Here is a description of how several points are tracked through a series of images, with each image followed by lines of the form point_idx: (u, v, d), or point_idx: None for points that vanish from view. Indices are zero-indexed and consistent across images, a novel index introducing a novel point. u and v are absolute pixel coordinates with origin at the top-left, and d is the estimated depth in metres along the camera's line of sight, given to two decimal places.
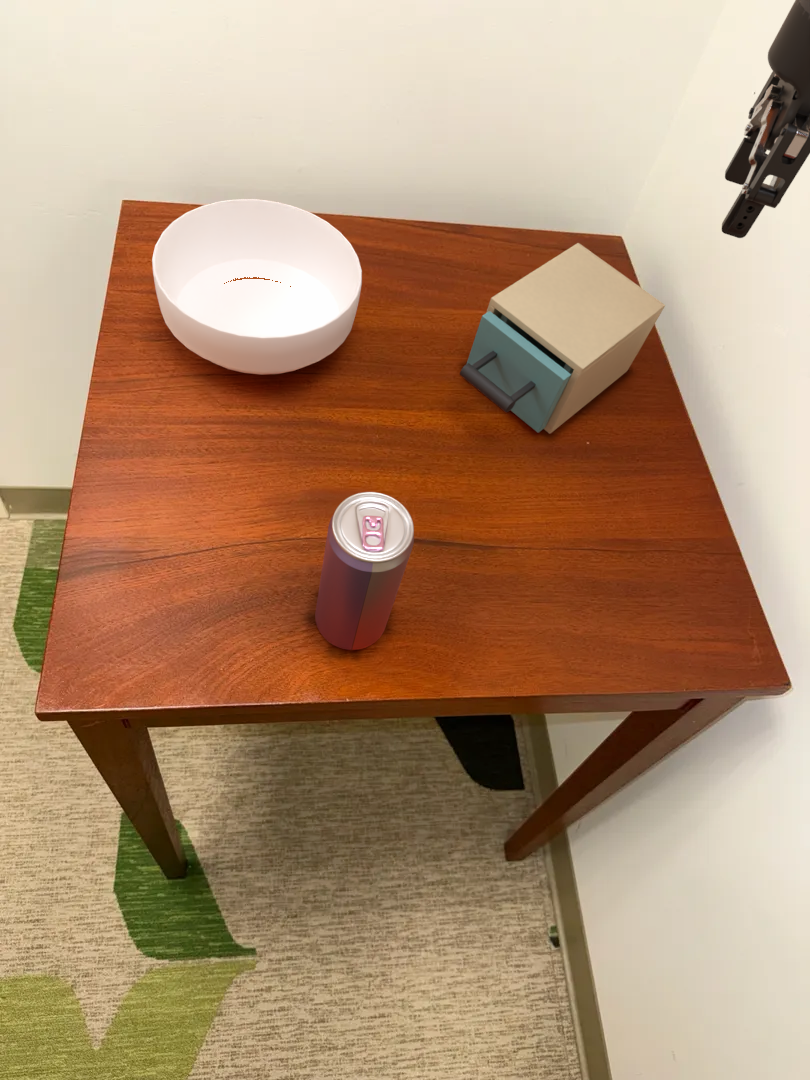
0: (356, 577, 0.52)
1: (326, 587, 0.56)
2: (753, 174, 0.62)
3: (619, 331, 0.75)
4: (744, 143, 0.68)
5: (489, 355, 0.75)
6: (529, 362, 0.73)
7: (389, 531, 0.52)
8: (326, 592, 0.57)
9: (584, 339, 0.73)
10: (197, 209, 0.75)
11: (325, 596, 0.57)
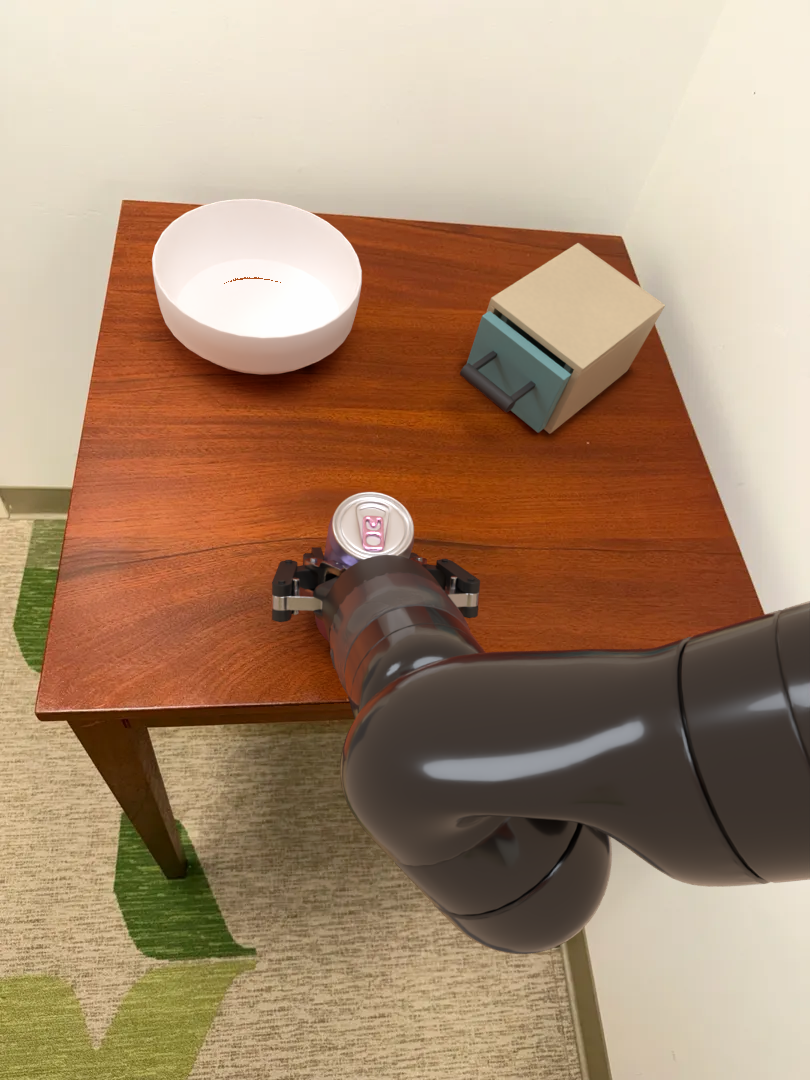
0: None
1: None
2: None
3: (619, 331, 0.75)
4: None
5: (489, 355, 0.75)
6: (529, 362, 0.73)
7: (389, 531, 0.52)
8: None
9: (584, 339, 0.73)
10: (197, 209, 0.75)
11: None
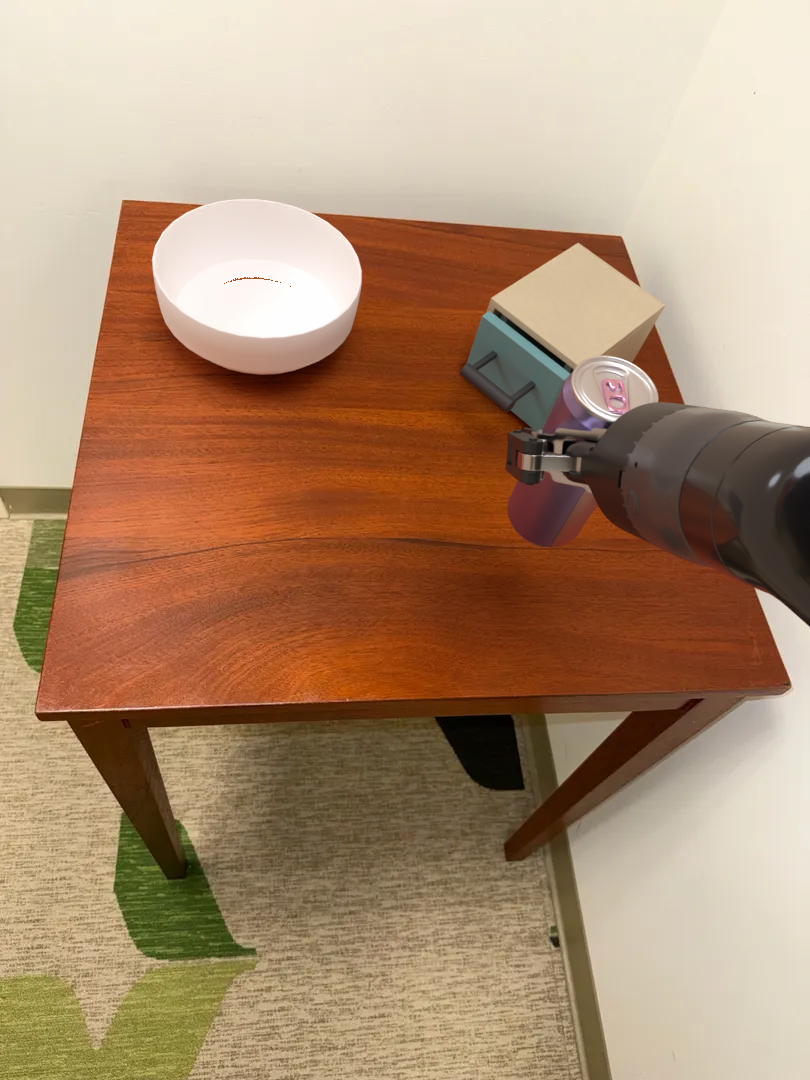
0: None
1: None
2: None
3: (619, 331, 0.75)
4: None
5: (489, 355, 0.75)
6: (529, 362, 0.73)
7: (632, 394, 0.47)
8: None
9: (584, 339, 0.73)
10: (197, 209, 0.75)
11: None
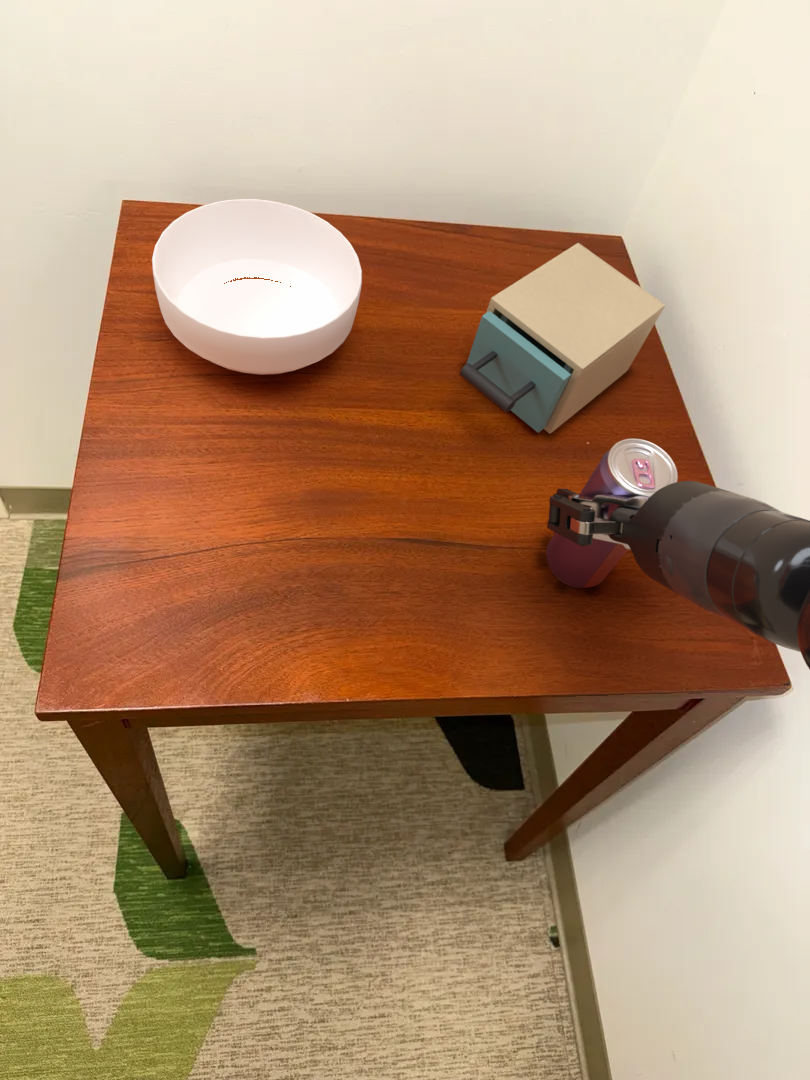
0: None
1: None
2: None
3: (619, 331, 0.75)
4: None
5: (489, 355, 0.75)
6: (529, 362, 0.73)
7: (656, 472, 0.59)
8: None
9: (584, 339, 0.73)
10: (197, 209, 0.75)
11: None
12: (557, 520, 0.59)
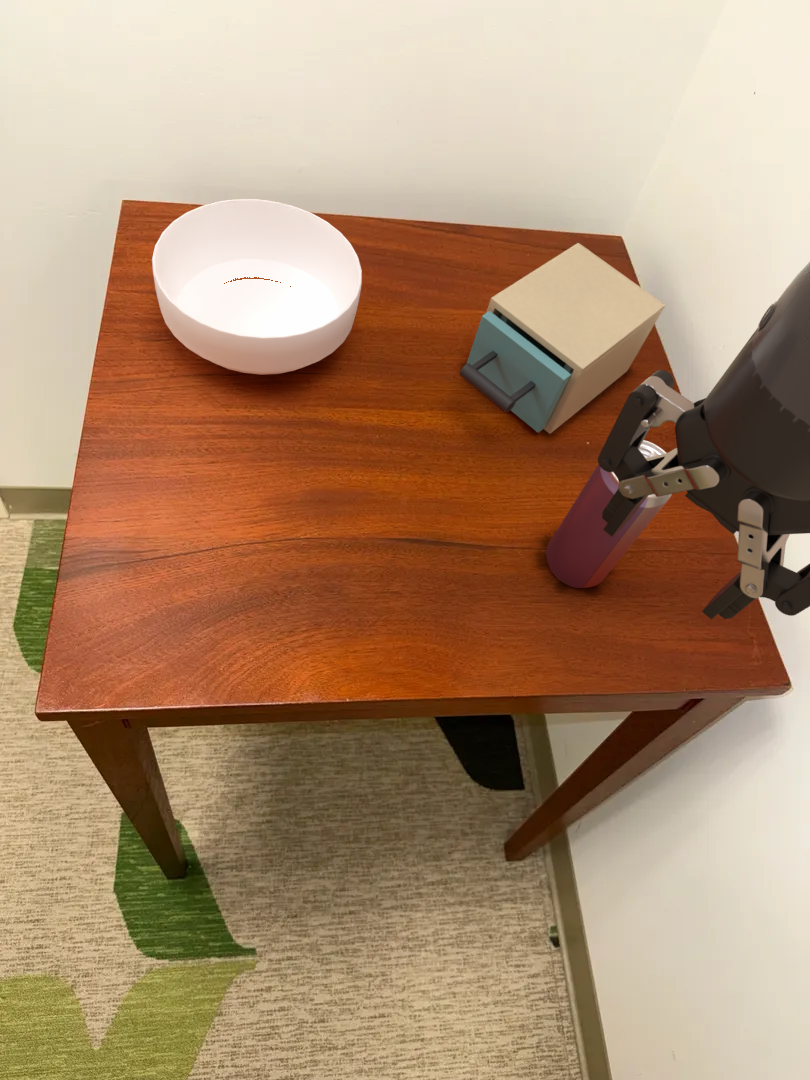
0: None
1: (582, 526, 0.63)
2: (764, 579, 0.39)
3: (619, 331, 0.75)
4: (635, 506, 0.43)
5: (489, 355, 0.75)
6: (529, 362, 0.73)
7: None
8: (580, 531, 0.63)
9: (584, 339, 0.73)
10: (197, 209, 0.75)
11: (577, 535, 0.64)
12: None
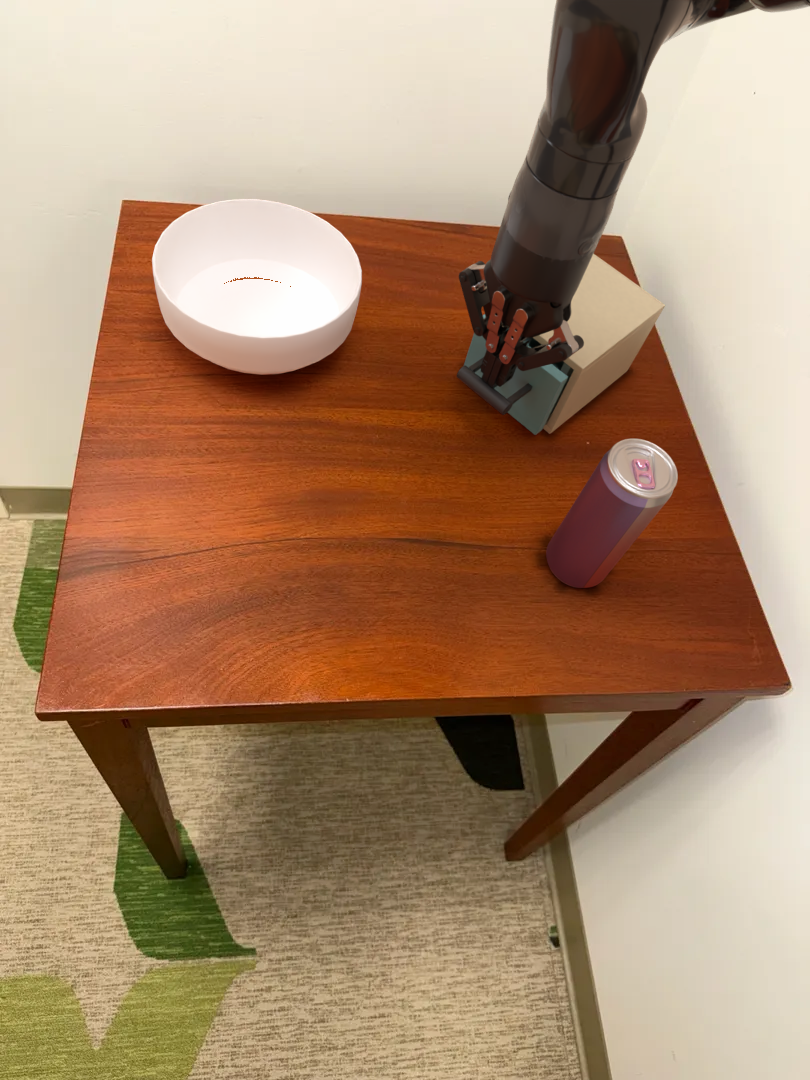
0: (627, 512, 0.59)
1: (582, 526, 0.63)
2: (513, 355, 0.68)
3: (619, 331, 0.75)
4: (496, 358, 0.69)
5: None
6: None
7: (656, 472, 0.59)
8: (580, 531, 0.63)
9: (584, 339, 0.73)
10: (197, 209, 0.75)
11: (577, 535, 0.64)
12: (484, 321, 0.69)
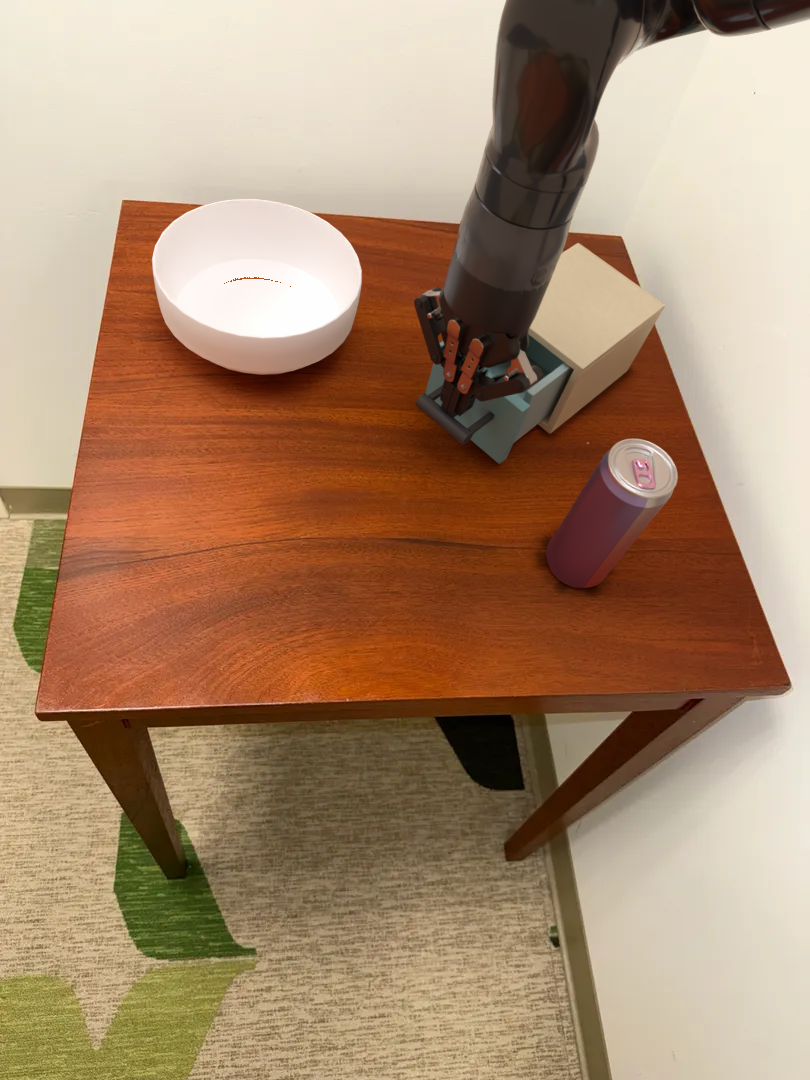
0: (627, 512, 0.59)
1: (582, 526, 0.63)
2: (471, 385, 0.65)
3: (619, 331, 0.75)
4: (454, 387, 0.67)
5: None
6: None
7: (656, 472, 0.59)
8: (580, 531, 0.63)
9: (584, 339, 0.73)
10: (197, 209, 0.75)
11: (577, 535, 0.64)
12: (441, 349, 0.66)
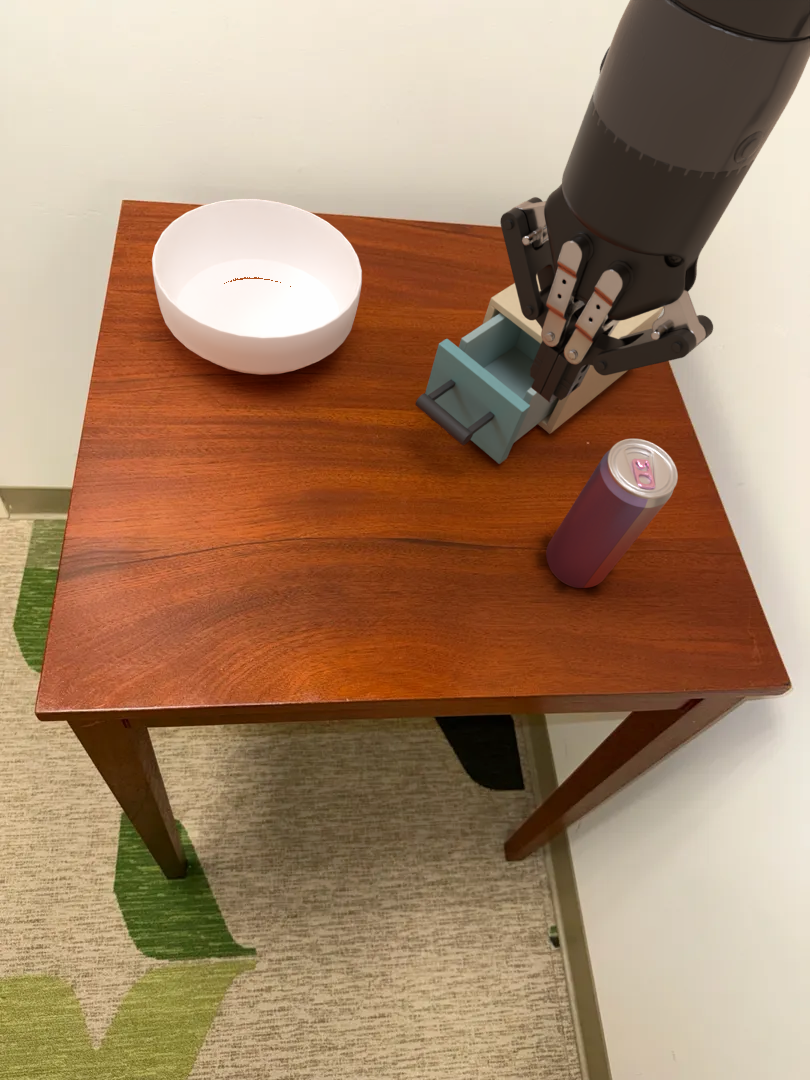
0: (627, 512, 0.59)
1: (582, 526, 0.63)
2: (588, 350, 0.42)
3: (619, 331, 0.75)
4: (558, 355, 0.44)
5: (447, 384, 0.72)
6: (487, 392, 0.70)
7: (656, 472, 0.59)
8: (580, 531, 0.63)
9: None
10: (197, 209, 0.75)
11: (577, 535, 0.64)
12: None
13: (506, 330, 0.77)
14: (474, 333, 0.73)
